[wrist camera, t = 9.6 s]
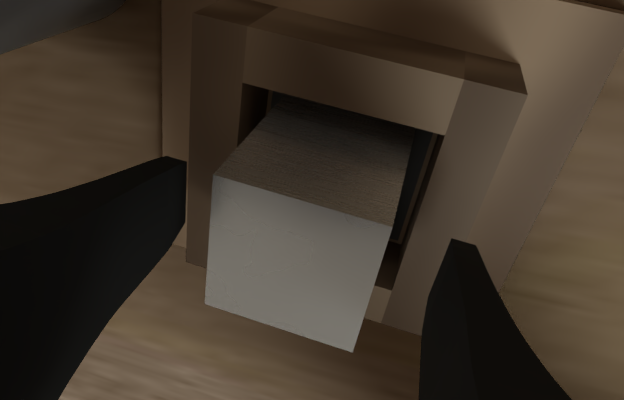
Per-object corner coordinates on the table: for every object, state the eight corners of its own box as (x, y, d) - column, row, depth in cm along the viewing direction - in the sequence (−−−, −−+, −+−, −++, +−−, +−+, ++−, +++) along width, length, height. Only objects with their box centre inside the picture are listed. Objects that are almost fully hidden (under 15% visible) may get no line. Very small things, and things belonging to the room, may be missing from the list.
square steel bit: (418, 117, 15) (392, 227, 10) (386, 222, 18) (352, 352, 13) (293, 85, 16) (213, 174, 11) (277, 190, 18) (204, 304, 13)
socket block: (631, 12, 13) (670, 43, 11) (475, 327, 20) (476, 392, 17) (171, -88, 15) (108, -82, 12) (170, 232, 22) (129, 279, 19)
